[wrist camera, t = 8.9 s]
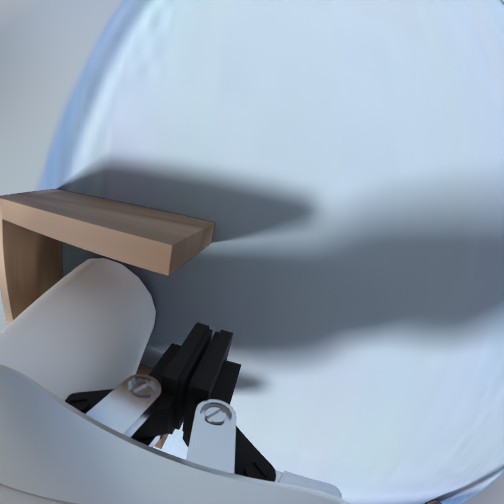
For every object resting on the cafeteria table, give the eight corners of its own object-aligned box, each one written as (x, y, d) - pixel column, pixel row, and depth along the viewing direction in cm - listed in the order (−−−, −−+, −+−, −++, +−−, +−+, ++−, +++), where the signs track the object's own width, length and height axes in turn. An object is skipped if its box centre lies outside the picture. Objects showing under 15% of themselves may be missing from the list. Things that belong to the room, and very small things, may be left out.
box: (55, 188, 14) (-5, 196, 9) (215, 222, 13) (172, 245, 8) (60, 335, 16) (19, 366, 12) (189, 392, 16) (161, 448, 11)
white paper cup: (99, 349, 16) (37, 466, 7) (50, 264, 13) (-56, 369, 4) (182, 340, 15) (135, 503, 6) (132, 235, 12) (-9, 389, 3)
